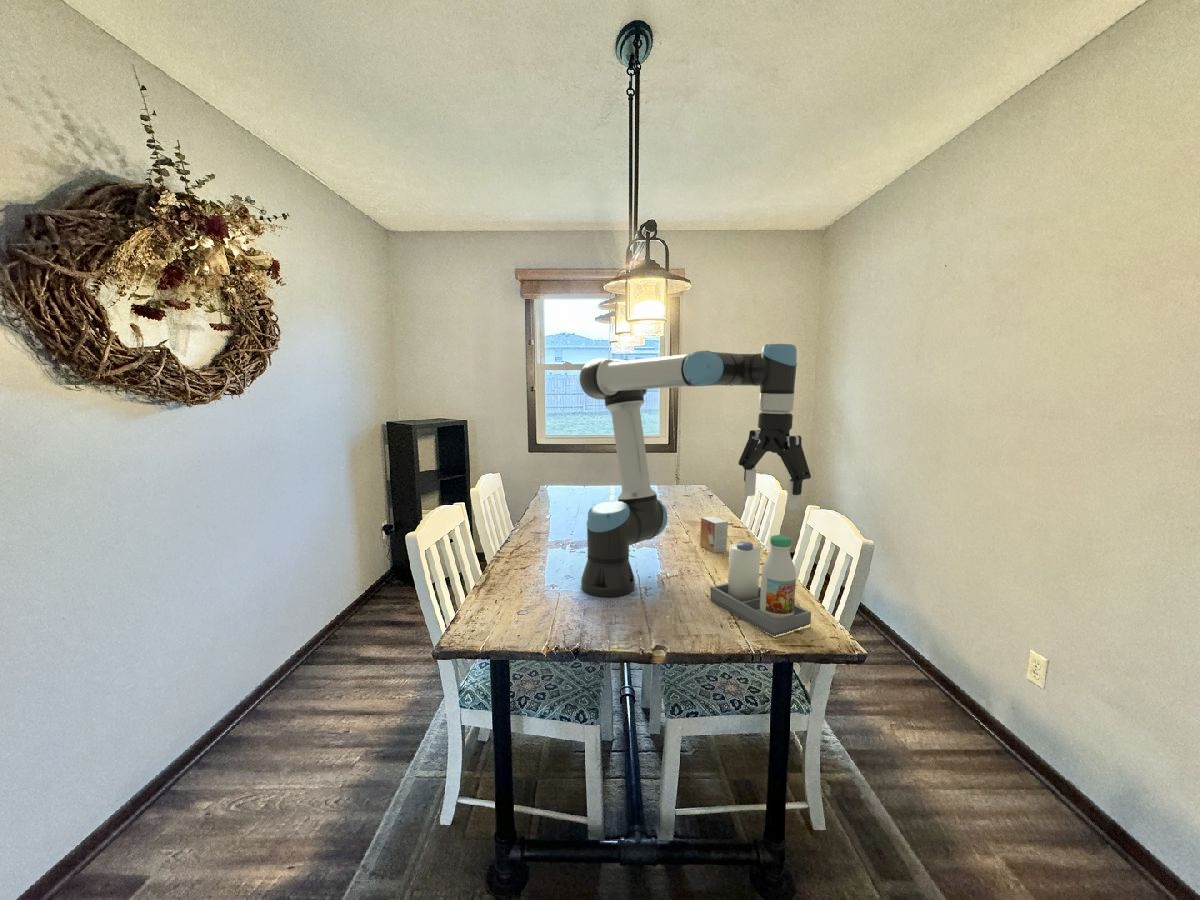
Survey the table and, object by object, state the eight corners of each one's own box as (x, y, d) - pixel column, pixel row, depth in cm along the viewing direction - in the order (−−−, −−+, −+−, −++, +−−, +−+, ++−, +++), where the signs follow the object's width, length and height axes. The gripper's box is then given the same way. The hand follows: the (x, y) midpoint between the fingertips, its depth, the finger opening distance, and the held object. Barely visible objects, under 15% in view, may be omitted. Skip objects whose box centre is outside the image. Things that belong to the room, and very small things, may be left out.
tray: (773, 638, 113) (774, 622, 113) (710, 600, 133) (710, 586, 133) (810, 627, 119) (811, 612, 118) (743, 592, 138) (744, 579, 138)
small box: (699, 546, 177) (700, 517, 176) (712, 544, 180) (713, 515, 178) (713, 553, 170) (714, 523, 169) (727, 551, 172) (728, 521, 171)
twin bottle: (741, 608, 126) (743, 550, 124) (721, 597, 132) (723, 542, 130) (764, 602, 129) (766, 546, 127) (743, 591, 136) (745, 538, 134)
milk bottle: (753, 617, 120) (757, 536, 118) (768, 608, 126) (773, 530, 123) (783, 629, 115) (789, 544, 112) (799, 618, 120) (804, 537, 117)
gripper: (833, 415, 107) (825, 512, 110) (749, 408, 129) (745, 489, 132) (807, 416, 103) (800, 516, 107) (727, 409, 126) (722, 492, 129)
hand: (769, 501), depth 119 cm, fingers open, 13 cm apart
